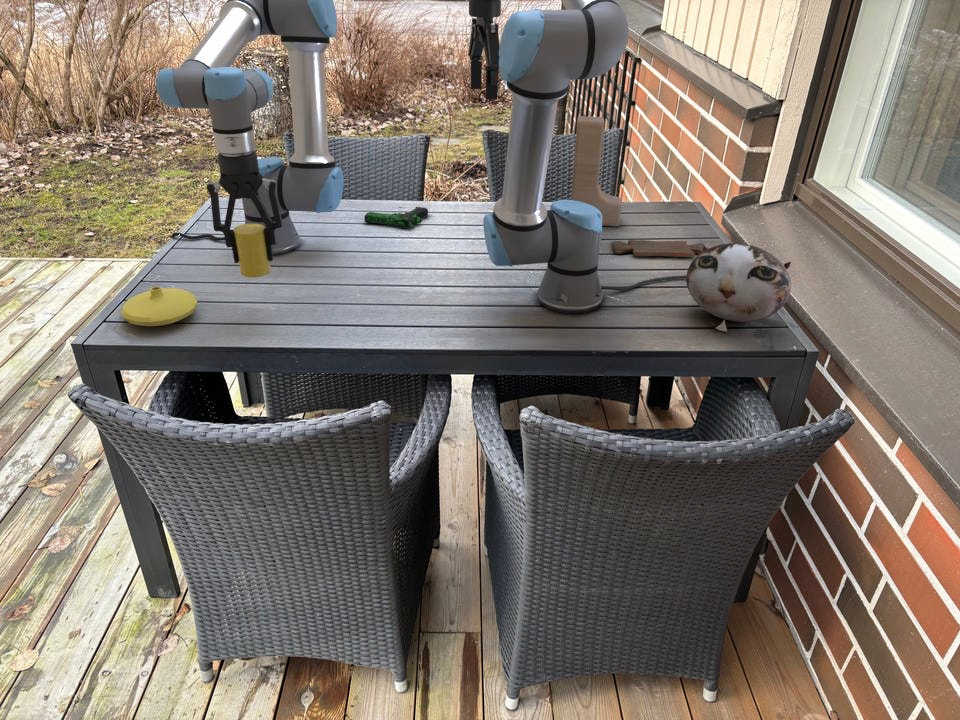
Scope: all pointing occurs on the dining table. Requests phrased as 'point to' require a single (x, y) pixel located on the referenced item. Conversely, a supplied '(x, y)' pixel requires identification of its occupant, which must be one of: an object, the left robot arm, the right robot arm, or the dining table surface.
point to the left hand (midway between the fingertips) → (254, 259)
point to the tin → (252, 250)
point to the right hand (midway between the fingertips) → (483, 94)
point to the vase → (159, 306)
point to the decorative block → (592, 171)
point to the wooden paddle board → (657, 248)
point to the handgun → (398, 218)
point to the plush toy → (738, 282)
